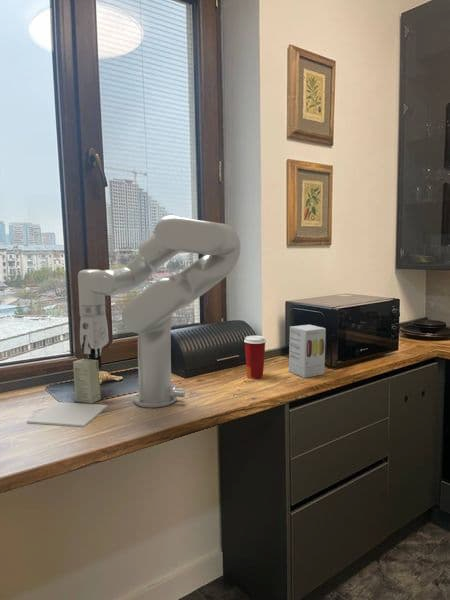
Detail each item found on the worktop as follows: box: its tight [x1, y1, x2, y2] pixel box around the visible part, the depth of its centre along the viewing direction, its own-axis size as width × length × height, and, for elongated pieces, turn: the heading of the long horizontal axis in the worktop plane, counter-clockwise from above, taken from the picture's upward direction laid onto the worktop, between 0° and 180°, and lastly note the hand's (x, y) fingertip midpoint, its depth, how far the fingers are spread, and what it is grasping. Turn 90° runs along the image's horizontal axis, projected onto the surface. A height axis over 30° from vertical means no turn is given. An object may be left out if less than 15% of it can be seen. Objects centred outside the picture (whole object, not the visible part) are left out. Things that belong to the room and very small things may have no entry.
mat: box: [26, 401, 108, 428], centre depth 119 cm, size 16×14×1 cm
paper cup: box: [243, 335, 267, 380], centre depth 152 cm, size 8×8×14 cm
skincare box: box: [72, 358, 102, 404], centre depth 129 cm, size 6×4×12 cm
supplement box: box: [288, 324, 327, 379], centre depth 156 cm, size 10×9×17 cm
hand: (95, 369), depth 134 cm, fingers closed
